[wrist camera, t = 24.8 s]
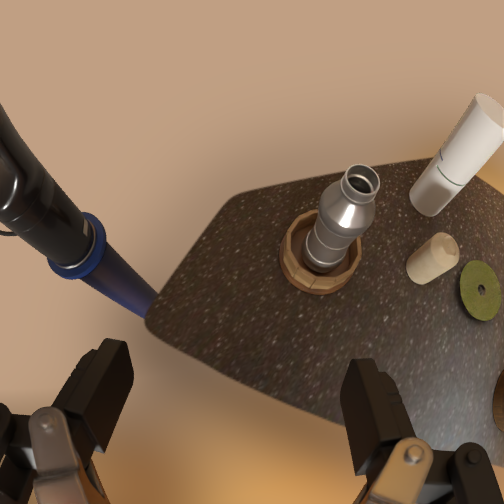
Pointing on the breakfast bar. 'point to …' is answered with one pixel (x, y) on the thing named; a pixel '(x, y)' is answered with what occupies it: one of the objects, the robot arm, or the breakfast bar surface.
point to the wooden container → (499, 403)
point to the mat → (480, 290)
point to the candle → (433, 258)
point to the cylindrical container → (460, 155)
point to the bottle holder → (301, 272)
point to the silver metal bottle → (341, 218)
